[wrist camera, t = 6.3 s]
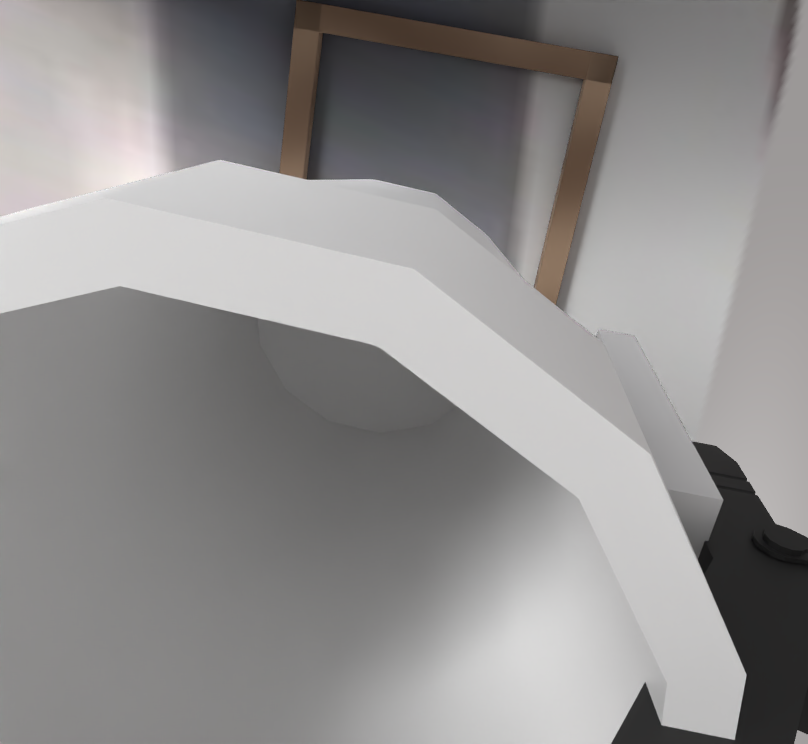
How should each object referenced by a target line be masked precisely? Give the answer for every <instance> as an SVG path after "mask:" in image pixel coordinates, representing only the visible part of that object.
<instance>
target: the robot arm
mask: <svg viewBox="0 0 808 744" xmlns="http://www.w3.org/2000/svg"><path fill="white" fill-rule="evenodd" d="M596 338H597V339H598V340H600V341H601V342H602V343H603V344H604V345H605V347H606V350H607V352H608V354H609V356H610V359H611V361H612V363H613V366H614V368H615V370H616V373H617V375H618V377H619V379H620V382H621V384H622V386H623V389H624V391H625V393H626V396H627V398H628V400H629V402H630V405H631V407H632V409H633V412H634V414H635V416H636V419H637V421H638V423H639V425H640V428H641V430H642V432H643V435H644V437H645V439H646V442H647V444H648V446H649V448H650V451H651V453H652V455H653V458H654V460H655V462H656V465H657V467H658V469H659V471H660V474H661V476H662V478H663V481H664V483H665V485H666V488H667V490H668V492H669V494H670V497H671V499H672V501H673V504H674V506H675V508H676V510H677V513H678V515H679V517H680V520H681V522H682V524H683V527H684V529H685V532H686V534H687V536H688V539H689V541H690V543H691V546H692V548H693V550H694V553H695V555H696V557H697V560H698V562H699V564H700V567H701V569H702V571H703V574H704V576H705V578H706V581H707V583H708V585H709V588H710V590H711V592H712V595H713V597H714V600H715V602H716V604H717V607H718V609H719V611H720V614H721V616H722V618H723V621H724V623H725V625H726V628H727V630H728V632H729V635H730V637H731V639H732V642H733V644H734V646H735V649H736V651H737V653H738V656H739V658H740V661H741V663H742V665H743V668H744V670H745V672H746V675H747V676H746V681H745V686H744V692H743V697H742V703H741V708H740V714H739V719H738V724H737V730H736V735H735V740H732V739H727V738H722V737H717V736H712V735H707V734H702V733H698V732H693V731H688V730H683V729H678V728H673V727H668V726H663V725H661V723H660V720H659V717H658V715H657V712H656V709H655V707H654V704H653V701H652V698H651V696H650V693H649V690H648V688H647V685H646V682H645V683H644V685H643V687H642V688H641V690H640V692H639V694H638V696H637V698H636V699H635V701H634V703H633V705H632V707H631V708H630V710H629V712H628V714H627V716H626V718H625V719H624V721H623V723H622V725H621V727H620V728H619V730H618V732H617V734H616V736H615V737H614V739H613V741H612V743H611V744H794V741H795V737H796V733H797V730H799V731H802V732H804V733H806V734H808V538H807V537H805V536H803V535H801V534H799V533H797V532H795V531H793V530H791V529H789V528H786V527H783V526H780V525H777V524H775V523H774V521H773V519H772V518H771V516H770V514H769V513H768V511H767V510H766V508H765V507H764V505H763V503H762V502H761V500H760V499H759V497H758V496H757V495H755V491H754V489H753V488H752V486H751V484H750V483H749V482H747V478H746V476H745V475H744V473H743V471H742V470H741V468H740V467H739V465H738V463H737V462H736V461H734V460H733V459H732V458H731V457H729V456H728V455H727V454H726V453H724V452H723V451H722V450H720V449H719V448H718V447H717V446H713V445H708V444H703V443H698V442H692V441H691V439H690V437H689V435H688V434H687V432H686V430H685V428H684V426H683V424H682V422H681V421H680V419H679V417H678V415H677V413H676V411H675V410H674V408H673V406H672V404H671V402H670V400H669V398H668V397H667V395H666V393H665V391H664V389H663V387H662V386H661V384H660V382H659V380H658V378H657V376H656V374H655V373H654V371H653V369H652V367H651V365H650V363H649V362H648V360H647V358H646V356H645V354H644V352H643V350H642V349H641V347H640V345H639V343H638V341H637V339H636V338H635V336H634V335H628V334H623V333H617V332H612V331H607V330H601V329H598V332H597V336H596Z"/></svg>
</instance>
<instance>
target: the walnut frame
mask: <svg viewBox="0 0 808 744" xmlns="http://www.w3.org/2000/svg"><path fill="white" fill-rule="evenodd" d="M323 33H327V34H333V35H338V36H344V37H349V38H355V39H361V40H366V41H372V42H377V43H383V44H389V45H394V46H400V47H405V48H411V49H417V50H422V51H428V52H433V53H439V54H445V55H450V56H456V57H462V58H467V59H473V60H478V61H484V62H490V63H495V64H501V65H506V66H512V67H518V68H523V69H529V70H534V71H540V72H546V73H551V74H557V75H562V76H568V77H574V78H579V79H583V83H582V87H581V91H580V96H579V100H578V104H577V108H576V112H575V116H574V121H573V125H572V129H571V133H570V137H569V142H568V146H567V150H566V154H565V158H564V163H563V167H562V171H561V175H560V179H559V184H558V188H557V192H556V196H555V200H554V205H553V209H552V213H551V217H550V221H549V225H548V230H547V234H546V238H545V242H544V246H543V251H542V255H541V259H540V263H539V267H538V272H537V276H536V280H535V284H534V288H535V289H536V290H537V291H539V292H540V293H541V294H542V295H544V296H545V297H546V298H547V299H549V300H550V301H551V302H552V303H554V304H555V305H556V302H557V298H558V294H559V290H560V286H561V282H562V278H563V274H564V270H565V266H566V262H567V258H568V254H569V250H570V247H571V243H572V239H573V235H574V231H575V227H576V223H577V219H578V215H579V211H580V207H581V203H582V199H583V195H584V191H585V187H586V183H587V179H588V175H589V171H590V167H591V163H592V159H593V155H594V151H595V147H596V144H597V140H598V136H599V132H600V128H601V124H602V120H603V116H604V112H605V108H606V104H607V100H608V96H609V92H610V88H611V84H612V80H613V76H614V72H615V68H616V64H617V60H618V56H613V55H607V54H602V53H596V52H590V51H585V50H579V49H574V48H568V47H562V46H557V45H551V44H545V43H540V42H534V41H528V40H523V39H517V38H511V37H506V36H500V35H494V34H489V33H483V32H478V31H472V30H466V29H461V28H455V27H449V26H444V25H438V24H432V23H427V22H421V21H415V20H410V19H404V18H398V17H393V16H387V15H382V14H376V13H370V12H365V11H359V10H353V9H348V8H342V7H336V6H331V5H325V4H319V3H314V2H308V1H302V0H297V1H296V11H295V21H294V31H293V41H292V51H291V61H290V71H289V81H288V91H287V101H286V111H285V122H284V132H283V142H282V152H281V162H280V172H279V173H280V174H284V175H289V176H293V177H297V178H302V179H307V170H308V161H309V153H310V144H311V135H312V126H313V117H314V108H315V99H316V91H317V82H318V73H319V64H320V55H321V46H322V37H323Z"/></svg>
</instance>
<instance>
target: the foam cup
mask: <svg viewBox="0 0 808 744" xmlns="http://www.w3.org/2000/svg"><path fill="white" fill-rule="evenodd" d="M746 676H747V675H746V672H745V670H744V668H743V665H742V663H741V661H740V658H739V656H738V653H737V651H736V649H735V646H734V644H733V642H732V639H731V637H730V635H729V632H728V630H727V628H726V625H725V623H724V621H723V618H722V616H721V614H720V611H719V609H718V607H717V604H716V602H715V600H714V597H713V595H712V592H711V590H710V588H709V585H708V583H707V581H706V578H705V576H704V574H703V571H702V569H701V567H700V564H699V562H698V560H697V557H696V555H695V553H694V550H693V548H692V546H691V543H690V541H689V539H688V536H687V534H686V532H685V529H684V527H683V524H682V522H681V520H680V517H679V515H678V513H677V510H676V508H675V506H674V504H673V501H672V499H671V497H670V494H669V492H668V490H667V488H666V485H665V483H664V481H663V478H662V476H661V474H660V471H659V469H658V467H657V465H656V462H655V460H654V458H653V455H652V453H651V451H650V448H649V446H648V444H647V442H646V439H645V437H644V435H643V432H642V430H641V428H640V425H639V423H638V421H637V419H636V416H635V414H634V412H633V409H632V407H631V405H630V402H629V400H628V398H627V396H626V393H625V391H624V389H623V386H622V384H621V382H620V379H619V377H618V375H617V373H616V370H615V368H614V366H613V363H612V361H611V359H610V356H609V354H608V352H607V350H606V347H605V345H604V344H603V343H602V342H601V341H600V340H598V339H597V338H596V337H595V336H593V335H592V334H591V333H590V332H588V331H587V330H586V329H585V328H584V327H582V326H581V325H580V324H579V323H577V322H576V321H575V320H574V319H572V318H571V317H570V316H569V315H567V314H566V313H565V312H564V311H562V310H561V309H560V308H559V307H557V306H556V305H555V304H554V303H552V302H551V301H550V300H549V299H547V298H546V297H545V296H544V295H542V294H541V293H540V292H539V291H537V290H536V289H535V288H534V287H532V286H531V285H530V284H529V283H527V282H526V281H525V280H524V279H523V278H522V276H521V275H520V274H519V273H518V272H517V270H516V269H515V268H514V267H513V266H512V264H511V263H510V262H509V261H508V260H507V258H506V257H505V256H504V255H503V254H502V252H501V251H500V250H499V249H498V248H497V246H496V245H495V244H494V243H493V242H492V240H491V239H490V238H489V237H488V236H487V234H485V233H484V232H483V231H482V230H481V229H479V228H478V227H477V226H476V225H474V224H473V223H472V222H471V221H469V220H468V219H467V218H466V217H464V216H463V215H462V214H461V213H460V212H458V211H457V210H456V209H455V208H453V207H452V206H451V205H450V204H448V203H447V202H446V201H445V200H443V199H442V198H441V197H440V196H438V195H437V194H436V193H432V192H427V191H423V190H418V189H414V188H410V187H405V186H401V185H397V184H392V183H388V182H384V181H379V180H374V179H346V180H306V179H302V178H297V177H293V176H289V175H284V174H280V173H276V172H271V171H267V170H262V169H258V168H254V167H249V166H245V165H241V164H236V163H232V162H228V161H223V160H217V161H213V162H209V163H205V164H201V165H197V166H193V167H189V168H185V169H182V170H178V171H174V172H170V173H166V174H162V175H158V176H154V177H150V178H146V179H143V180H139V181H135V182H131V183H127V184H123V185H119V186H115V187H111V188H107V189H104V190H100V191H96V192H92V193H88V194H84V195H80V196H76V197H72V198H68V199H65V200H61V201H57V202H53V203H49V204H45V205H41V206H37V207H33V208H29V209H26V210H22V211H19V212H16V213H12V214H9V215H6V216H2V217H0V744H611V743H612V741H613V739H614V737H615V736H616V734H617V732H618V730H619V728H620V727H621V725H622V723H623V721H624V719H625V718H626V716H627V714H628V712H629V710H630V708H631V707H632V705H633V703H634V701H635V699H636V698H637V696H638V694H639V692H640V690H641V688H642V687H643V685H644V683H645V682H646V685H647V688H648V690H649V693H650V696H651V698H652V701H653V704H654V707H655V709H656V712H657V715H658V717H659V720H660V723H661V725H663V726H668V727H673V728H678V729H683V730H688V731H693V732H698V733H702V734H707V735H712V736H717V737H722V738H727V739H732V740H735V735H736V730H737V724H738V719H739V714H740V708H741V703H742V697H743V692H744V686H745V681H746Z"/></svg>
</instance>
